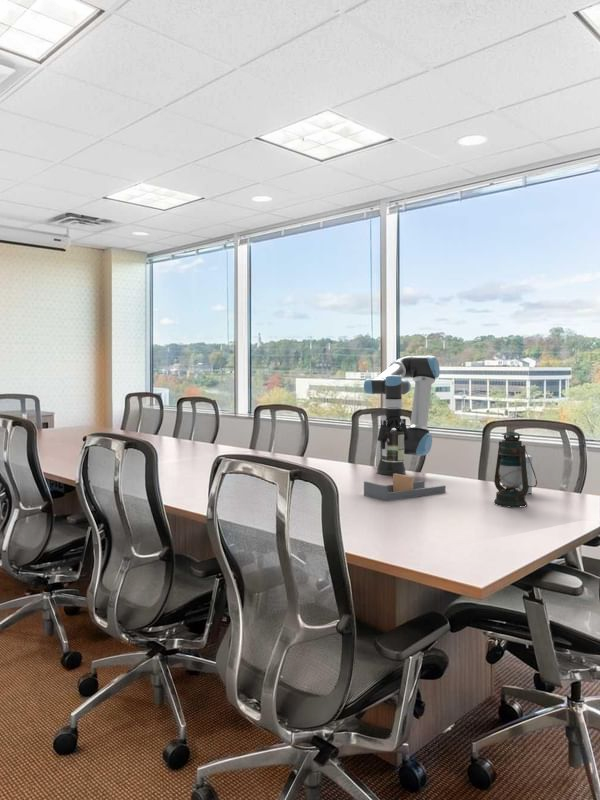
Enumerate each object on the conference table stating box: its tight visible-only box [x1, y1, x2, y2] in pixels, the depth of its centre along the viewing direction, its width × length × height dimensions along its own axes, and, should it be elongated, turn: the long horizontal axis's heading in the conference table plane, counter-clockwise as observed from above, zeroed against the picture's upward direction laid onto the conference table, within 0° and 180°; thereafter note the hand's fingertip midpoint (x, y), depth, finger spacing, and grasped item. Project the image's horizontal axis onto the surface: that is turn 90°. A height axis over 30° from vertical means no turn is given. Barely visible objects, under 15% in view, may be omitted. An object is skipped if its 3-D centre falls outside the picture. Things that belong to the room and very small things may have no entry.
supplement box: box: [515, 453, 533, 493], centre depth 278 cm, size 10×9×17 cm
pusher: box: [392, 473, 414, 492], centre depth 272 cm, size 2×11×8 cm, turn 33°
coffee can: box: [382, 429, 405, 463], centre depth 292 cm, size 10×10×14 cm
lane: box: [363, 480, 446, 502], centre depth 273 cm, size 35×14×6 cm, turn 123°
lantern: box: [493, 431, 538, 508], centre depth 252 cm, size 19×14×30 cm
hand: (393, 454), depth 293 cm, fingers closed on coffee can, 10 cm apart
